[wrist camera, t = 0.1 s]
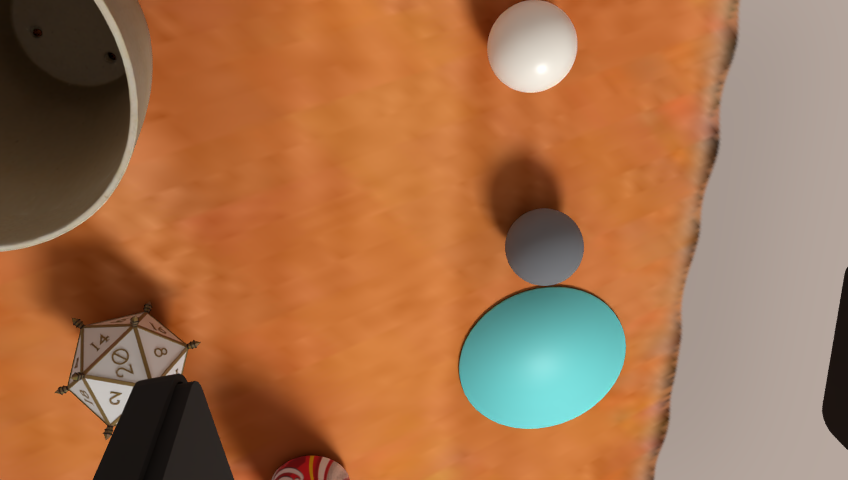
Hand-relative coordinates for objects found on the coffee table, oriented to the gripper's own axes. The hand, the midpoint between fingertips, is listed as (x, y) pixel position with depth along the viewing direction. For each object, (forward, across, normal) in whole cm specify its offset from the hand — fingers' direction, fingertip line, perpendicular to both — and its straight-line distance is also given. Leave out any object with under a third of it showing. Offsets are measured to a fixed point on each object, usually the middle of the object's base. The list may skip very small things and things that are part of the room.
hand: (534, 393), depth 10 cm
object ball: (+34, -9, +16) cm, 39 cm away
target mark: (+37, -9, +28) cm, 47 cm away
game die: (+37, +21, +19) cm, 47 cm away
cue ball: (+34, -9, +2) cm, 35 cm away
